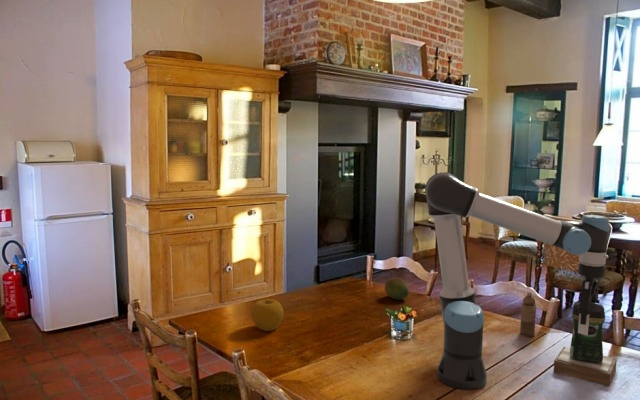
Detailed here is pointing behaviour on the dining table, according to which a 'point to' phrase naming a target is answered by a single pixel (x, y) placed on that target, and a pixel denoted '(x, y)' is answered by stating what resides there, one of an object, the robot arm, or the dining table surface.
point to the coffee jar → (591, 344)
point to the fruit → (396, 288)
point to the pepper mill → (528, 316)
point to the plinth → (585, 368)
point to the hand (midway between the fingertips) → (586, 327)
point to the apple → (267, 314)
